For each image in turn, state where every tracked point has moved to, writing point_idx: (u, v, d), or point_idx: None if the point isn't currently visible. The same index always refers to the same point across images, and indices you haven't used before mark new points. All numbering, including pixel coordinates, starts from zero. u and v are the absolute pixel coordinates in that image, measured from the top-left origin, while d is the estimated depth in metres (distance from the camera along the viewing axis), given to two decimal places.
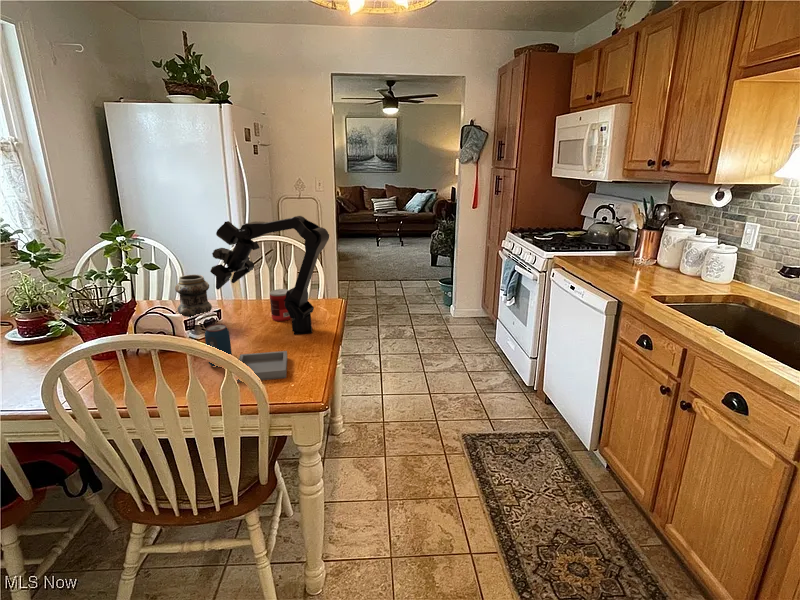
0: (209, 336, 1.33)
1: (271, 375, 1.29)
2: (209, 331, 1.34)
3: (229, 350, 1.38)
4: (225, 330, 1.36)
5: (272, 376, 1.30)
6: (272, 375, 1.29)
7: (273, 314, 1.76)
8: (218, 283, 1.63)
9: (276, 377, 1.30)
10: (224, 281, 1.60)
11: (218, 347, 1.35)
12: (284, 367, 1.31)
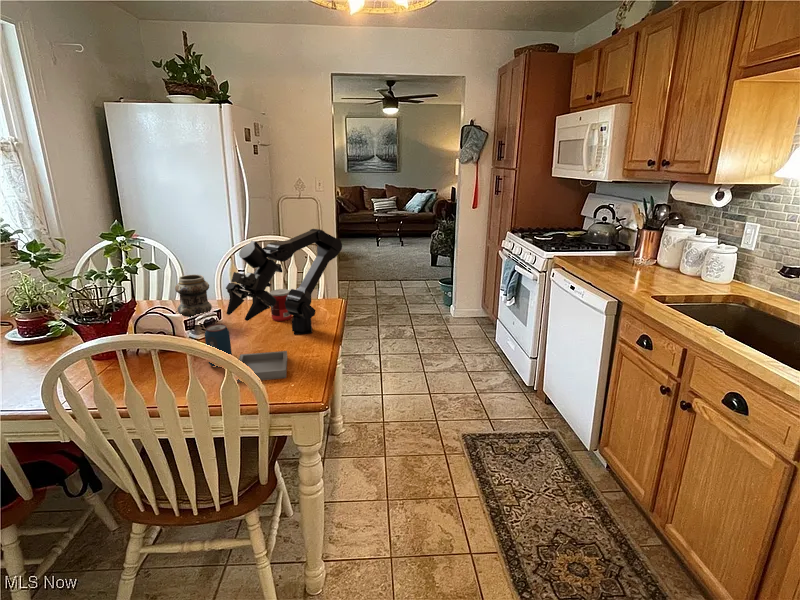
0: (209, 336, 1.33)
1: (271, 375, 1.29)
2: (209, 331, 1.34)
3: (229, 350, 1.38)
4: (225, 330, 1.36)
5: (272, 376, 1.30)
6: (272, 375, 1.29)
7: (273, 314, 1.76)
8: (253, 312, 1.39)
9: (276, 377, 1.30)
10: None
11: (218, 347, 1.35)
12: (284, 367, 1.31)
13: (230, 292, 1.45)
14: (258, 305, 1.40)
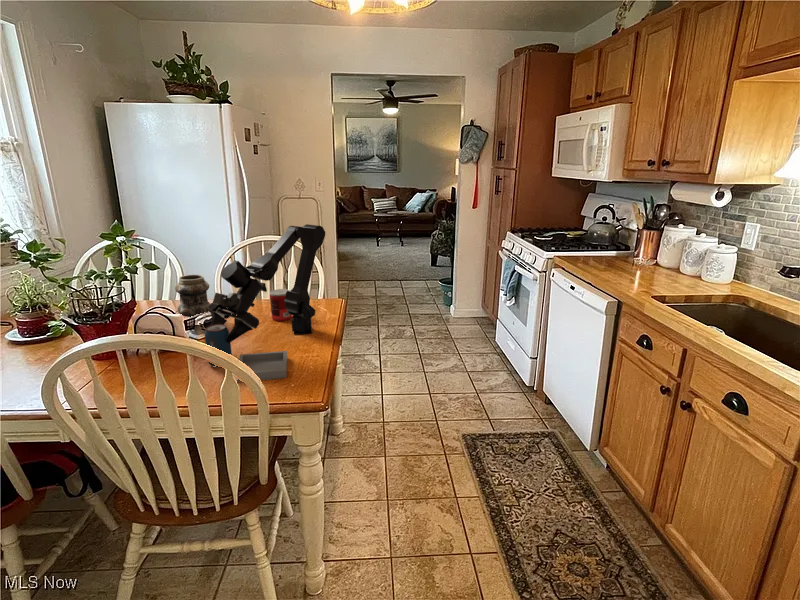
0: (209, 336, 1.33)
1: (271, 375, 1.29)
2: (209, 331, 1.34)
3: (229, 350, 1.38)
4: (225, 330, 1.36)
5: (272, 376, 1.30)
6: (272, 375, 1.29)
7: (273, 314, 1.76)
8: (235, 334, 1.35)
9: (276, 377, 1.30)
10: (252, 329, 1.38)
11: (218, 347, 1.35)
12: (284, 367, 1.31)
13: (212, 312, 1.41)
14: (240, 327, 1.36)
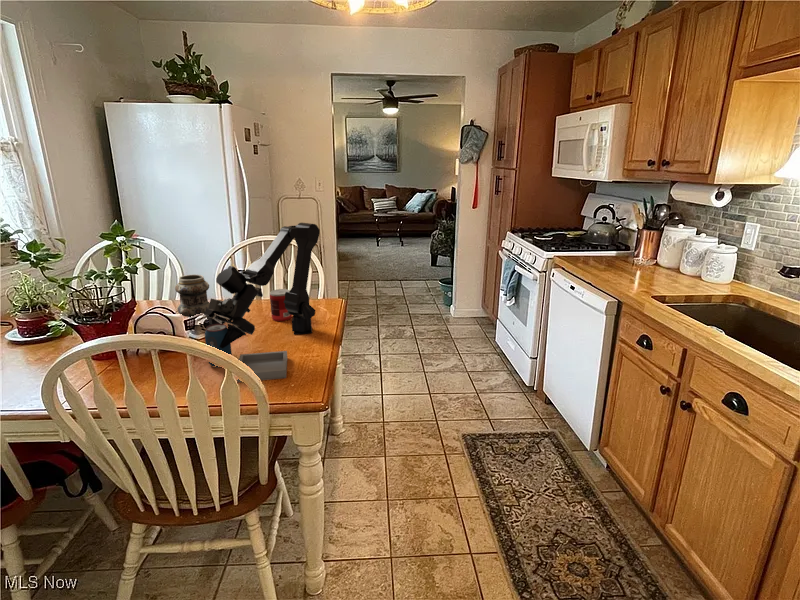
0: (209, 335, 1.33)
1: (271, 375, 1.29)
2: (209, 331, 1.34)
3: (229, 350, 1.38)
4: (225, 330, 1.36)
5: (272, 376, 1.30)
6: (272, 375, 1.29)
7: (273, 314, 1.76)
8: (228, 339, 1.35)
9: (276, 377, 1.30)
10: None
11: (218, 347, 1.35)
12: (284, 367, 1.31)
13: (210, 319, 1.39)
14: (234, 332, 1.36)
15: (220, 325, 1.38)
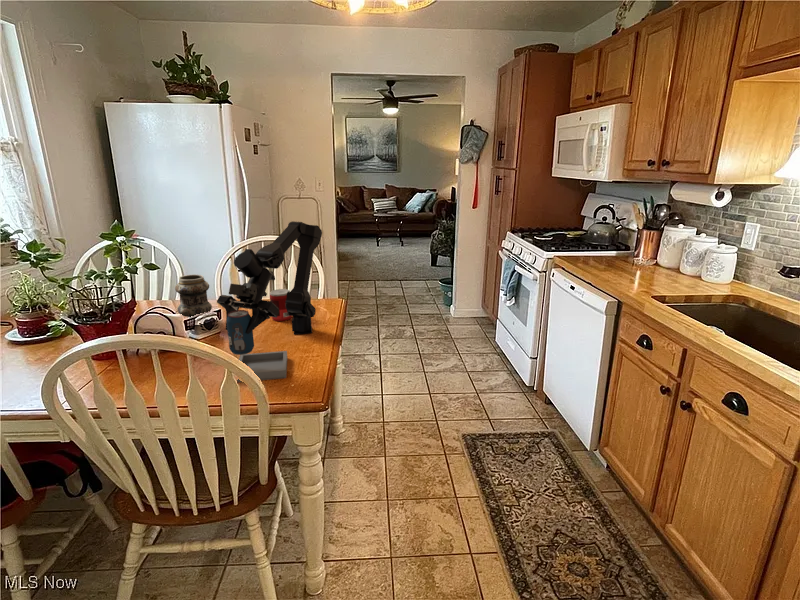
0: (234, 322, 1.29)
1: (271, 375, 1.29)
2: (234, 317, 1.29)
3: (252, 335, 1.34)
4: (248, 315, 1.32)
5: (272, 376, 1.30)
6: (272, 375, 1.29)
7: None
8: (254, 324, 1.32)
9: (276, 377, 1.30)
10: None
11: (243, 333, 1.30)
12: (284, 367, 1.31)
13: (227, 306, 1.34)
14: (258, 316, 1.33)
15: (240, 311, 1.34)
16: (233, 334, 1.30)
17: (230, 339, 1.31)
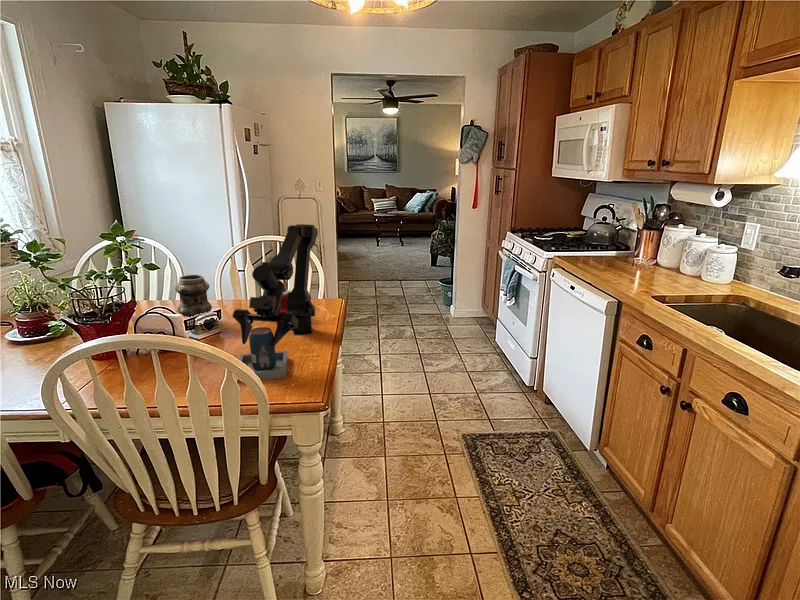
0: (259, 340, 1.29)
1: (271, 375, 1.29)
2: (259, 335, 1.29)
3: None
4: (271, 332, 1.33)
5: (272, 376, 1.30)
6: (272, 375, 1.29)
7: None
8: (279, 337, 1.32)
9: (276, 377, 1.30)
10: (292, 329, 1.36)
11: (268, 350, 1.31)
12: (284, 367, 1.31)
13: (241, 319, 1.33)
14: (281, 328, 1.34)
15: (261, 328, 1.34)
16: (258, 352, 1.30)
17: (255, 357, 1.31)
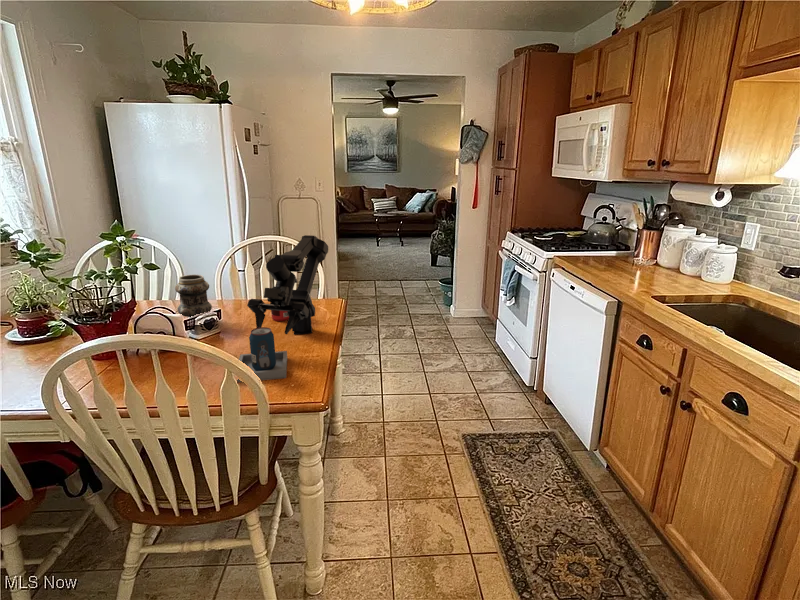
0: (259, 340, 1.29)
1: (271, 375, 1.29)
2: (259, 335, 1.29)
3: None
4: (271, 332, 1.33)
5: (272, 376, 1.30)
6: (272, 375, 1.29)
7: (273, 314, 1.76)
8: (291, 325, 1.41)
9: (276, 377, 1.30)
10: (303, 318, 1.45)
11: (268, 350, 1.31)
12: (284, 367, 1.31)
13: (256, 308, 1.42)
14: (293, 317, 1.43)
15: (261, 328, 1.34)
16: (258, 352, 1.30)
17: (255, 357, 1.31)
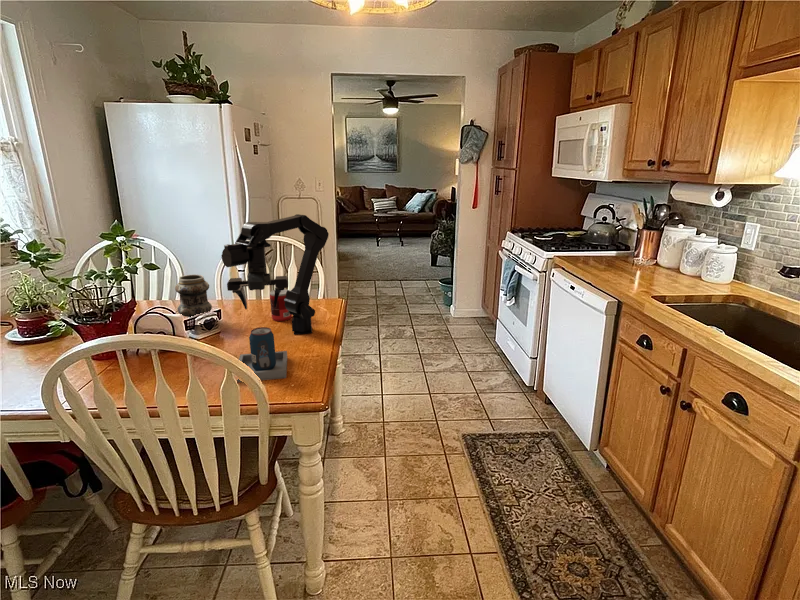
0: (259, 340, 1.29)
1: (271, 375, 1.29)
2: (259, 335, 1.29)
3: None
4: (271, 332, 1.33)
5: (272, 376, 1.30)
6: (272, 375, 1.29)
7: (273, 314, 1.76)
8: (277, 298, 1.51)
9: (276, 377, 1.30)
10: None
11: (268, 350, 1.31)
12: (284, 367, 1.31)
13: (239, 292, 1.45)
14: None
15: (261, 328, 1.34)
16: (258, 352, 1.30)
17: (255, 357, 1.31)
